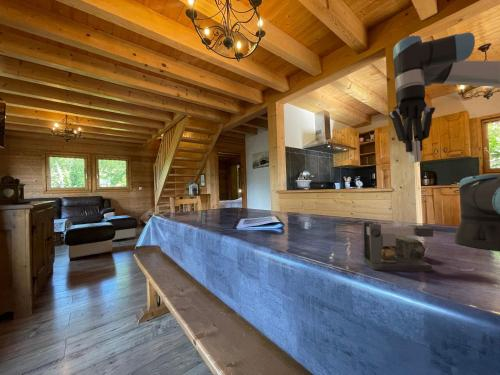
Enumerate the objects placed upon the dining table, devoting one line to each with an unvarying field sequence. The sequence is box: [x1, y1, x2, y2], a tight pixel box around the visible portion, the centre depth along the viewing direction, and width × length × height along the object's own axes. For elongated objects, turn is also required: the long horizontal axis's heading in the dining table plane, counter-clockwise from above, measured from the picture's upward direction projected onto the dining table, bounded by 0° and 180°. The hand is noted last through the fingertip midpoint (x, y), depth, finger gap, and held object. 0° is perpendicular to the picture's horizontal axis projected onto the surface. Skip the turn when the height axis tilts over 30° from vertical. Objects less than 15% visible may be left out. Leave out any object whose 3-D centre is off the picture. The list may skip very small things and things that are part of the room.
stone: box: [389, 236, 426, 259], centre depth 66 cm, size 14×7×10 cm, turn 28°
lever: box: [366, 224, 434, 246], centre depth 56 cm, size 14×5×4 cm, turn 81°
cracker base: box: [362, 221, 433, 273], centre depth 56 cm, size 13×6×11 cm, turn 81°
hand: (415, 162), depth 70 cm, fingers closed
